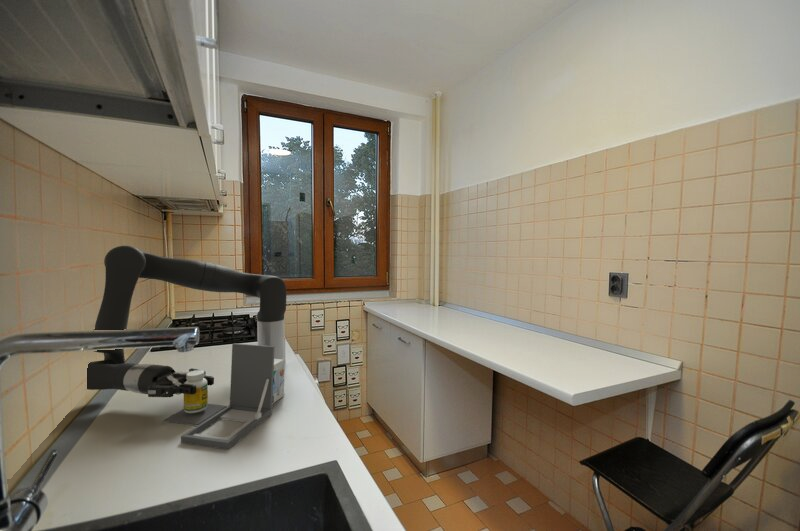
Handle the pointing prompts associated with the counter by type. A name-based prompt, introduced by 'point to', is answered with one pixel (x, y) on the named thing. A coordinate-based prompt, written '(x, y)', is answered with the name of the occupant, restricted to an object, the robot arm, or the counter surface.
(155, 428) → the counter surface
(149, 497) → the counter surface
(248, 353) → the case
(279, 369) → the light bulb box
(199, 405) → the supplement bottle
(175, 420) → the pad
